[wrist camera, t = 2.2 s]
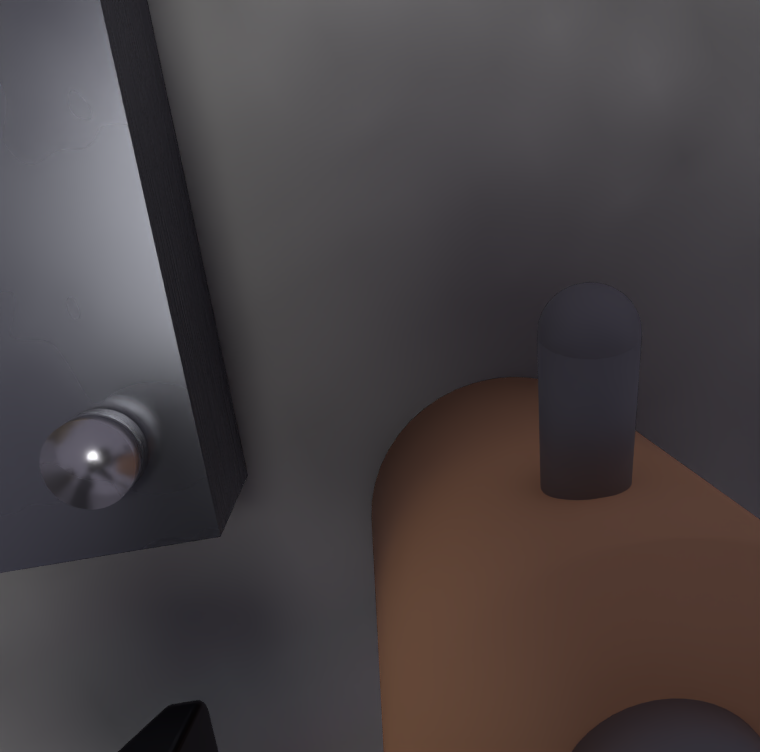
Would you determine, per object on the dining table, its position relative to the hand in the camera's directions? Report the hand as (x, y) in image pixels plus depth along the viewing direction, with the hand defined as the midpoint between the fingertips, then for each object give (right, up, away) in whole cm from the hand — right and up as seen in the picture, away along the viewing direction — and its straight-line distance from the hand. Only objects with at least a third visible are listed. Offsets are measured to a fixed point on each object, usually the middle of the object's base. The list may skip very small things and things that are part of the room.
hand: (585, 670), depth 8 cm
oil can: (0, +2, +4) cm, 5 cm away
